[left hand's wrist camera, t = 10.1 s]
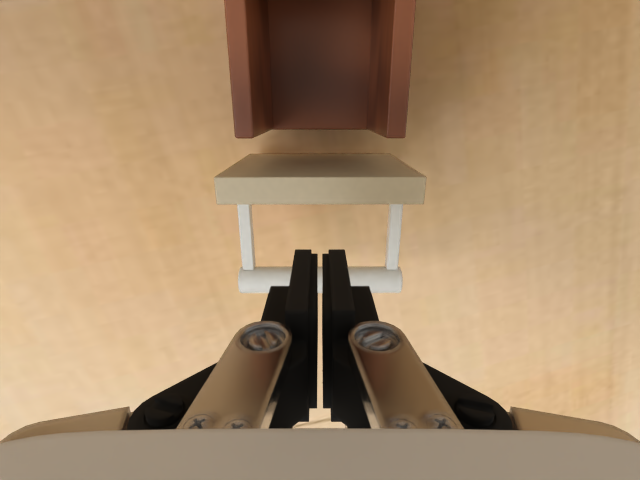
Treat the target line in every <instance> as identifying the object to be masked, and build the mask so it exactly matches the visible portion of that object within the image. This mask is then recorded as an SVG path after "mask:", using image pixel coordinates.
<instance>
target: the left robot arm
mask: <svg viewBox="0 0 640 480" xmlns="http://www.w3.org/2000/svg"><path fill="white" fill-rule="evenodd" d="M317 345H318V263H317V254H311V250H295V255H294V260H293V266H292V272H291V277H290V283H289V286H271V287H270V290H269V294H268V297H267V301H266V305H265V308H264V312H263V315H262V319H261V321H260V322H254V323H251V324H249V325H246V326H245V327H243V328H241V329H240V330H239V331H238V332H237V333H236V334H235V336H234V337H233V339H232V341H231V342H230V344H229V345H228V347H227V349H226V350H225V352H224V353H223V355H222V357H221V358H220V360H219V361H218V362H217V363H215V364H213V365H212V366H210V367H208V368H206V369H204V370H202V371H200V372H198V373H196V374H194V375H193V376H191V377H189V378H187V379H185V380H183V381H181V382H179V383H177V384H175V385H173V386H172V387H170V388H168V389H166V390H164V391H162V392H160V393H158V394H156V395H154V396H152V397H151V398H149V399H148V400H146V401H145V402H143V403H142V404H141V405H140V406H139V407H138V408H137V409H136V410H135V411H134V412H130V408H129V407H124V408H118V409H112V410H106V411H100V412H95V413H89V414H83V415H77V416H71V417H66V418H60V419H54V420H48V421H42V422H38V423H34V424H31V425H27V426H25V427H23V428H21V429H19V430H17V431H15V432H13V433H11V434H10V435H8V436H7V437H6V438H4V439H3V440H1V441H0V480H640V441H639V440H637V439H636V438H634V437H633V436H632V435H630V434H629V433H627V432H625V431H623V430H621V429H619V428H617V427H615V426H613V425H609V424H606V423H602V422H597V421H592V420H586V419H580V418H574V417H569V416H563V415H557V414H551V413H545V412H540V411H534V410H528V409H522V408H516V407H511V408H510V412H506V411H505V410H504V409H503V408H502V407H501V406H500V405H499V404H498V403H497V402H495V401H494V400H492V399H491V398H489V397H488V396H486V395H484V394H482V393H480V392H478V391H476V390H474V389H472V388H470V387H468V386H467V385H465V384H463V383H461V382H459V381H457V380H455V379H453V378H451V377H449V376H447V375H446V374H444V373H442V372H440V371H438V370H436V369H434V368H432V367H430V366H428V365H427V364H425V363H423V362H422V361H421V360H420V358H419V357H418V355H417V353H416V352H415V350H414V349H413V347H412V345H411V344H410V342H409V341H408V339H407V337H406V336H405V334H404V333H403V332H402V331H401V330H400V329H399V328H397V327H395V326H394V325H391V324H389V323H386V322H380V321H379V319H378V315H377V312H376V308H375V305H374V301H373V297H372V294H371V290H370V287H369V286H351V283H350V277H349V272H348V266H347V260H346V255H345V250H329V254H323V263H322V345H323V408H331V422H342V423H344V424H345V428H295V424H296V423H298V422H309V408H317Z"/></svg>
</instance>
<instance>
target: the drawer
mask: <svg viewBox="0 0 640 480" xmlns="http://www.w3.org/2000/svg"><path fill="white" fill-rule="evenodd" d="M224 5H225V18H226V30H227V43H228V55H229V68H230V80H231V93H232V105H233V118H234V130H235V137H236V138H254V137H256V136H258V135H260V134H263V133H265V132H267V131H270V130H272V129H368V130H370V131H373V132H375V133H377V134H379V135H382V136H384V137H386V138H405V134H406V121H407V108H408V96H409V83H410V70H411V57H412V44H413V32H414V19H415V6H416V0H224ZM214 183H215V193H216V203H217V204H237V207H238V219H239V231H240V243H241V255H242V267H241V268H240V270H239V275H238V287H239V291H240V293H269V290H270V287H271V286H289V283H290V277H291V272H292V267H255V251H254V236H253V222H252V207H251V204H389V213H388V228H387V243H386V258H385V266H386V267H348V272H349V277H350V283H351V286H369V287H370V290H371V293H400V292H401V290H402V272H401V269H400V267H398V260H399V248H400V235H401V223H402V211H403V204H424V196H425V186H426V177H425V176H424V175H422V174H421V173H419V172H417V171H416V170H414V169H413V168H411V167H410V166H408V165H407V164H405V163H404V162H402V161H401V160H399V159H398V158H396V157H394V156H393V155H391V154H249V155H248V156H246V157H245V158H243V159H242V160H240V161H238V162H237V163H235V164H234V165H232V166H231V167H229V168H228V169H226V170H225V171H223V172H222V173H220V174H219V175H217V176H215V177H214ZM318 293H322V267H318Z"/></svg>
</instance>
